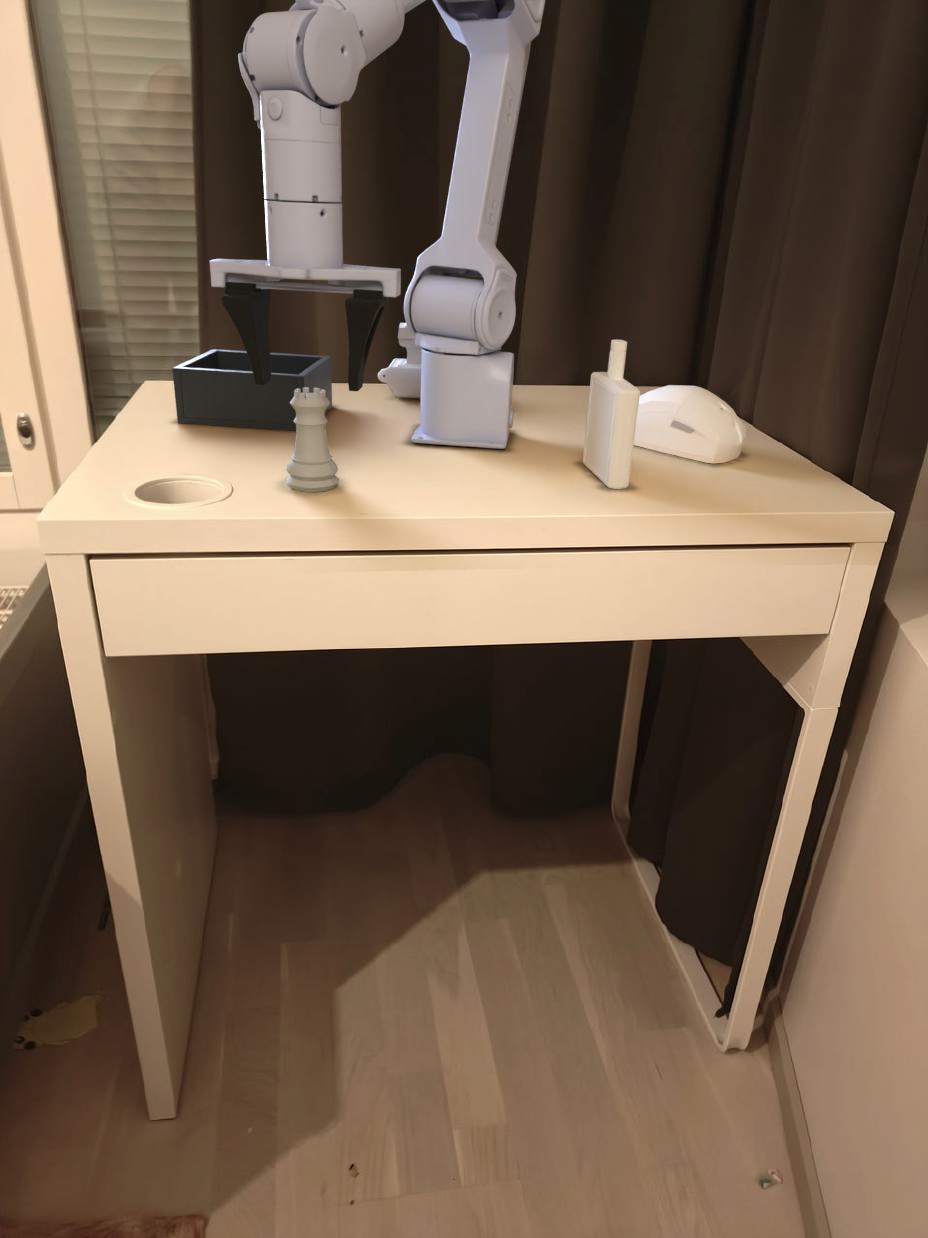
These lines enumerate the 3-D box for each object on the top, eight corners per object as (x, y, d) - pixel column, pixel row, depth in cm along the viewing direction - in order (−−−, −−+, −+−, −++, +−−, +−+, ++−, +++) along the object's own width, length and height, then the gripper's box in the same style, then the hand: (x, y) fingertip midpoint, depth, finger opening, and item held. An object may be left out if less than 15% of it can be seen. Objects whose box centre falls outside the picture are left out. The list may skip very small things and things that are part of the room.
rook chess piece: (350, 484, 78) (348, 390, 75) (315, 496, 75) (312, 399, 71) (310, 474, 80) (307, 382, 77) (275, 486, 77) (270, 390, 73)
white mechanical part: (452, 392, 113) (455, 321, 110) (450, 403, 107) (452, 329, 104) (380, 388, 113) (380, 318, 110) (374, 400, 107) (374, 326, 104)
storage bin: (332, 406, 104) (331, 356, 101) (305, 431, 93) (303, 376, 91) (216, 398, 105) (212, 348, 102) (177, 422, 94) (172, 367, 92)
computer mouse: (720, 467, 88) (731, 402, 85) (608, 439, 95) (614, 378, 93) (750, 455, 92) (762, 393, 89) (641, 429, 100) (648, 371, 97)
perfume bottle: (580, 463, 87) (593, 333, 82) (600, 462, 87) (614, 333, 82) (607, 489, 80) (623, 348, 75) (629, 488, 80) (646, 349, 75)
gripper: (189, 197, 65) (204, 389, 71) (389, 207, 64) (388, 401, 70) (223, 196, 71) (234, 372, 77) (406, 205, 70) (403, 383, 76)
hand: (309, 385), depth 74 cm, fingers open, 7 cm apart
